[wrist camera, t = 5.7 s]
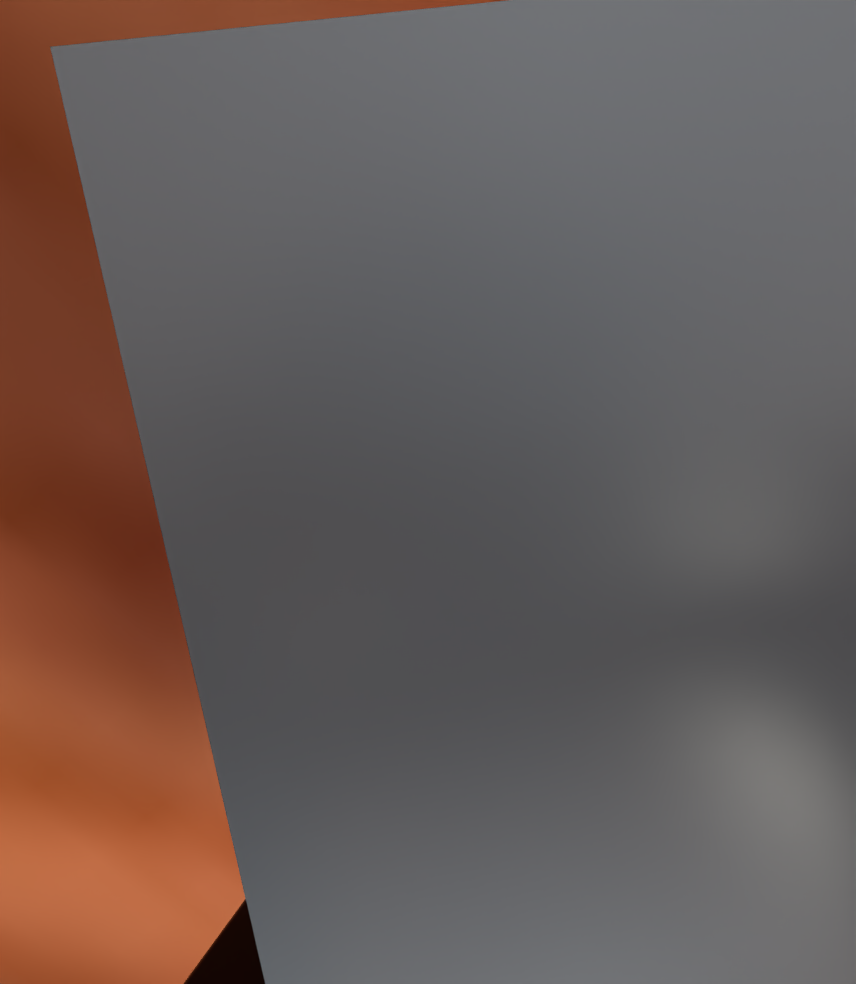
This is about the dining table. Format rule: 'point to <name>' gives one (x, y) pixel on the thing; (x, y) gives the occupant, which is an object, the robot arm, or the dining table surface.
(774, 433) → the lid
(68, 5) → the dining table surface
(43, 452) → the dining table surface
